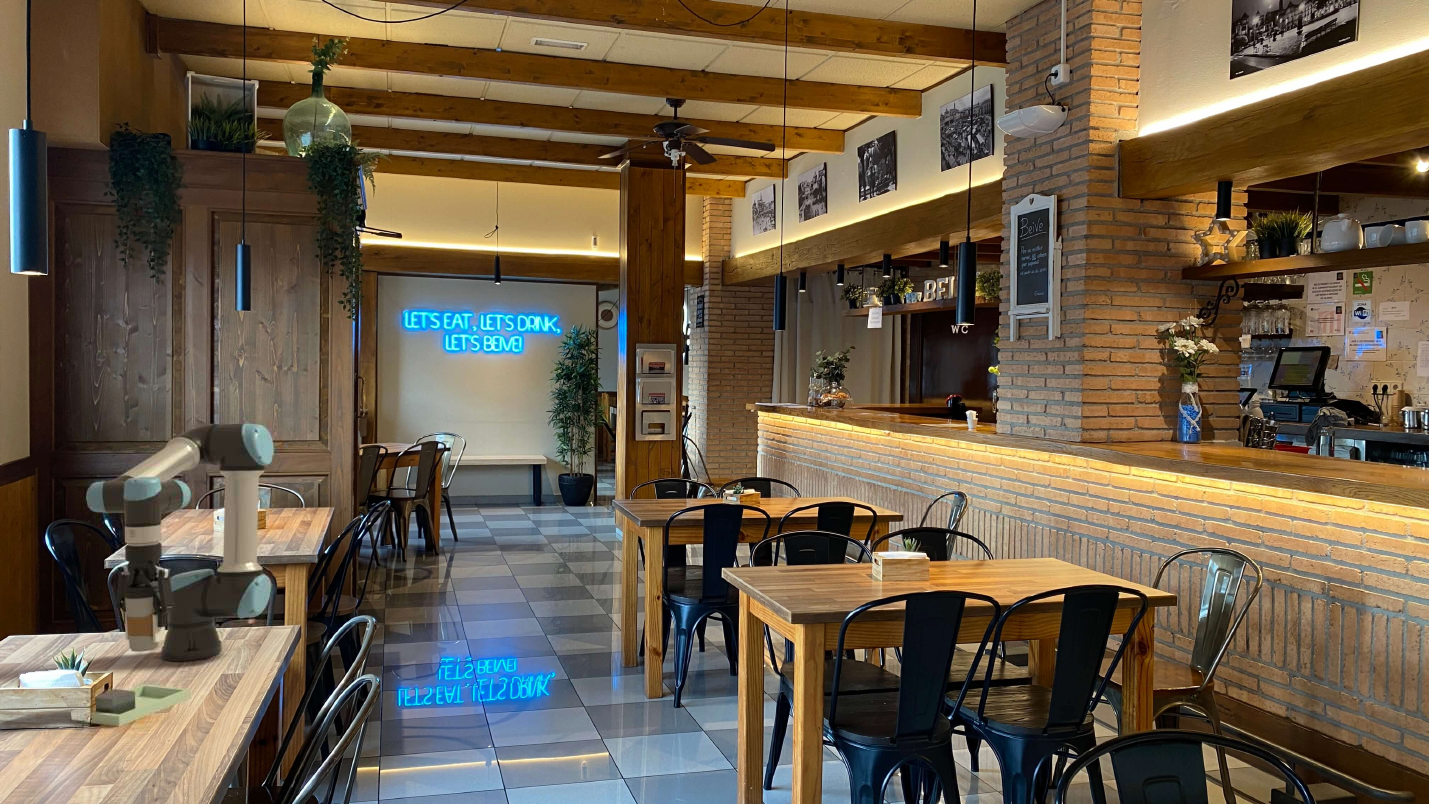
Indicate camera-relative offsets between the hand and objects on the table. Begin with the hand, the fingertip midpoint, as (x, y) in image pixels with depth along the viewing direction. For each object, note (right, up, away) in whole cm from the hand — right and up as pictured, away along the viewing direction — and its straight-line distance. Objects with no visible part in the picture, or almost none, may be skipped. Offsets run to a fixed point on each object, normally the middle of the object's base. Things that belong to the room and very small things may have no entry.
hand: (145, 639), depth 240 cm
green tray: (-1, -16, -3) cm, 17 cm away
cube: (-3, -16, -8) cm, 18 cm away
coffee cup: (0, -2, 0) cm, 2 cm away
